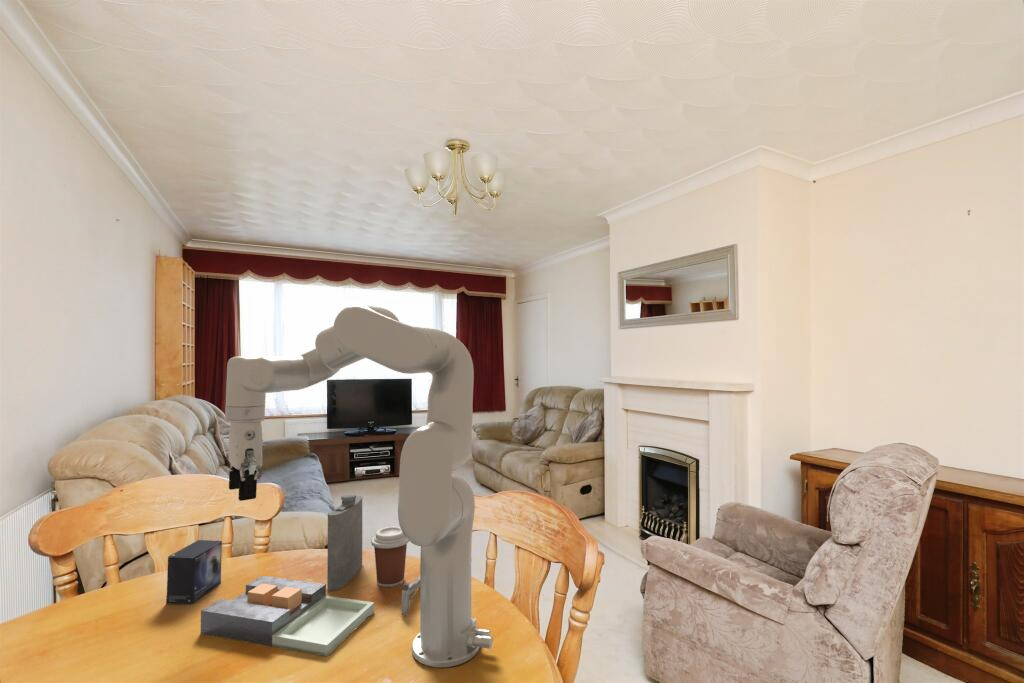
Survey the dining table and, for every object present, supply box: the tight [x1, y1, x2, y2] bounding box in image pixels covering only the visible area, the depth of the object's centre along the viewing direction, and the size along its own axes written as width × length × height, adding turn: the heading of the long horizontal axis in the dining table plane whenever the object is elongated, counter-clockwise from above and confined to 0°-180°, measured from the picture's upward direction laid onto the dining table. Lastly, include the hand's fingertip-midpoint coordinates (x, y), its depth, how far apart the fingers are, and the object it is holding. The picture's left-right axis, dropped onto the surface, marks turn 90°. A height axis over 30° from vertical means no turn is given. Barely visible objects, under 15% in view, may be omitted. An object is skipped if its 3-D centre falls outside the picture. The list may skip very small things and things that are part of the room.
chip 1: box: [247, 583, 278, 606], centre depth 103 cm, size 4×4×3 cm
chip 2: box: [272, 587, 302, 611], centre depth 101 cm, size 4×4×3 cm
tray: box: [271, 595, 375, 657], centre depth 98 cm, size 12×16×2 cm
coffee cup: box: [370, 526, 410, 588], centre depth 119 cm, size 9×9×12 cm
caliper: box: [400, 575, 420, 616], centre depth 113 cm, size 20×1×6 cm, turn 176°
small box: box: [165, 539, 223, 605], centre depth 114 cm, size 11×6×10 cm, turn 179°
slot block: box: [200, 575, 327, 647], centre depth 102 cm, size 17×16×4 cm
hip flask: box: [326, 493, 363, 592], centre depth 122 cm, size 16×4×20 cm, turn 175°
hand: (242, 493), depth 105 cm, fingers open, 9 cm apart
